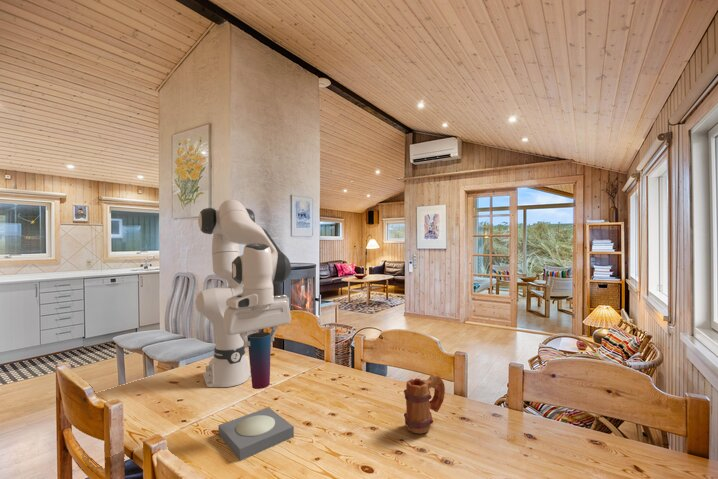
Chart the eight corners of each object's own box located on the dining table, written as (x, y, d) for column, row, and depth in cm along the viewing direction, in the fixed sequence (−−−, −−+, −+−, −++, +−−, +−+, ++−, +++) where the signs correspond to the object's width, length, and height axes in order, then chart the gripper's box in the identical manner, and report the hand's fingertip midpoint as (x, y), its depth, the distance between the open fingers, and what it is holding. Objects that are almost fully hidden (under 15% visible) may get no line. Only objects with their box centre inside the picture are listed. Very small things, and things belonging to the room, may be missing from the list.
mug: (413, 440, 96) (412, 387, 97) (397, 427, 104) (396, 377, 104) (452, 427, 103) (452, 377, 103) (435, 415, 110) (434, 368, 111)
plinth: (218, 435, 101) (218, 424, 101) (268, 416, 111) (268, 406, 111) (240, 460, 89) (240, 448, 89) (293, 436, 99) (293, 425, 99)
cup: (266, 390, 97) (265, 337, 98) (244, 390, 98) (243, 337, 99) (276, 381, 104) (274, 332, 105) (255, 381, 105) (253, 332, 106)
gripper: (283, 292, 111) (284, 335, 111) (220, 301, 98) (221, 349, 97) (294, 294, 107) (295, 339, 106) (228, 303, 93) (229, 354, 93)
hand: (259, 344), depth 102 cm, fingers closed on cup, 6 cm apart
